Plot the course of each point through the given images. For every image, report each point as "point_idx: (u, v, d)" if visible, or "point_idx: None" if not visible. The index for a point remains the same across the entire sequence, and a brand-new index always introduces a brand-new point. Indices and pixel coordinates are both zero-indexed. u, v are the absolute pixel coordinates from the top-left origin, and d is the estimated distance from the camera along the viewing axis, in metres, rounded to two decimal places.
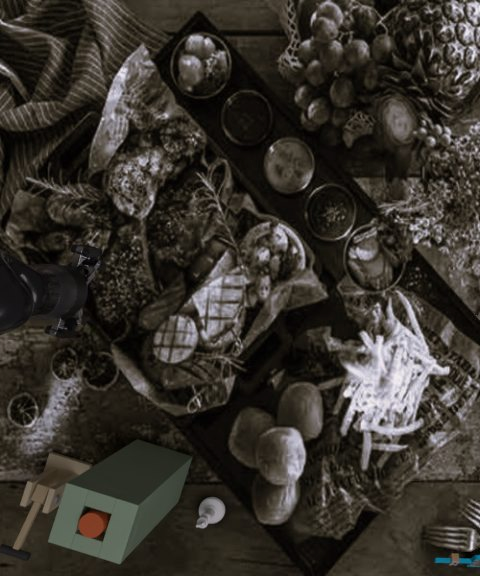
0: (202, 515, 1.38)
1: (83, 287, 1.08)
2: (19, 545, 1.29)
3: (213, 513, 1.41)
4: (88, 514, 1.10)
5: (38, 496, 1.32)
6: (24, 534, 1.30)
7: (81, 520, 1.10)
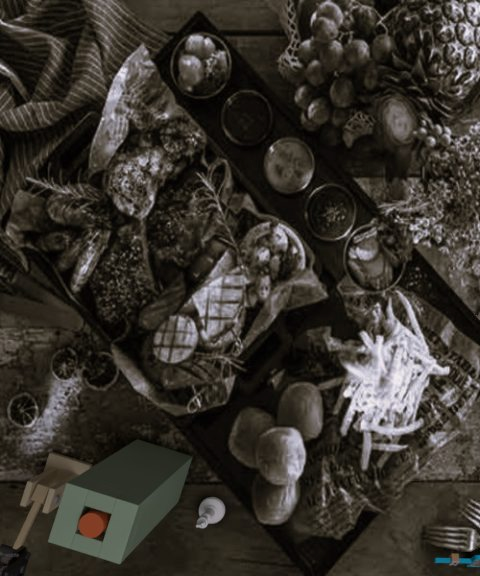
0: (202, 515, 1.38)
1: None
2: (19, 545, 1.29)
3: (213, 513, 1.41)
4: (88, 514, 1.10)
5: (38, 496, 1.32)
6: (24, 534, 1.30)
7: (81, 520, 1.10)
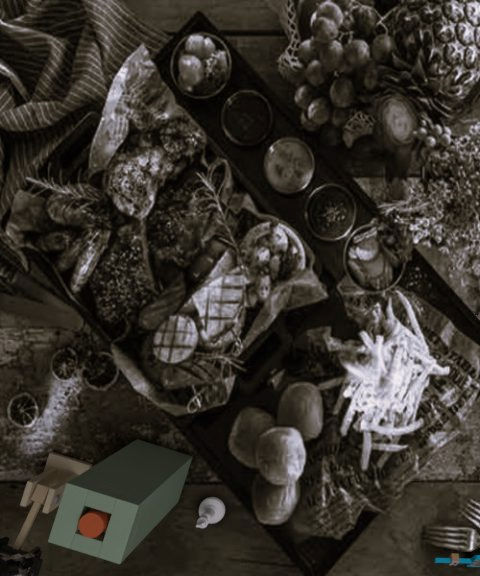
0: (202, 515, 1.38)
1: None
2: (19, 545, 1.29)
3: (213, 513, 1.41)
4: (88, 514, 1.10)
5: (38, 496, 1.32)
6: (24, 534, 1.30)
7: (81, 520, 1.10)
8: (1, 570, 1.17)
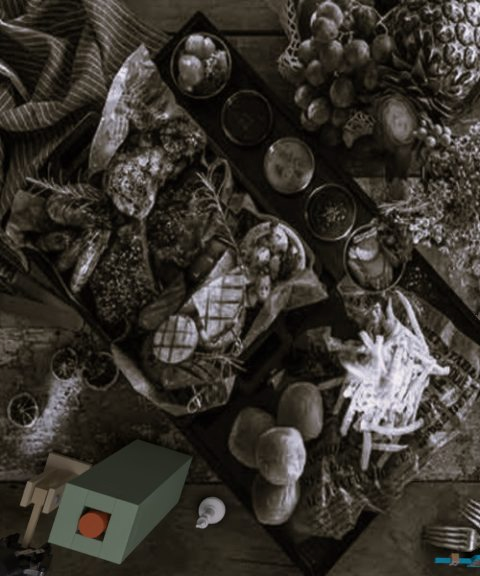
0: (202, 515, 1.38)
1: None
2: (27, 544, 1.33)
3: (213, 513, 1.41)
4: (88, 514, 1.10)
5: (37, 499, 1.32)
6: (30, 534, 1.33)
7: (81, 520, 1.10)
8: (12, 564, 1.22)
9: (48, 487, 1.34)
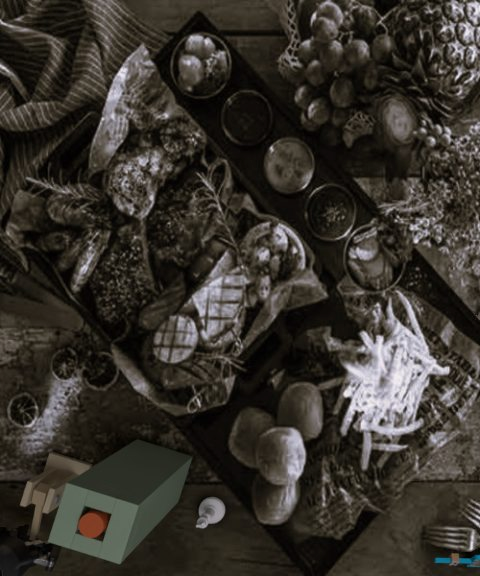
0: (202, 515, 1.38)
1: None
2: (34, 537, 1.36)
3: (213, 513, 1.41)
4: (88, 514, 1.10)
5: (37, 500, 1.33)
6: (36, 529, 1.35)
7: (81, 520, 1.10)
8: (23, 554, 1.25)
9: (47, 487, 1.34)
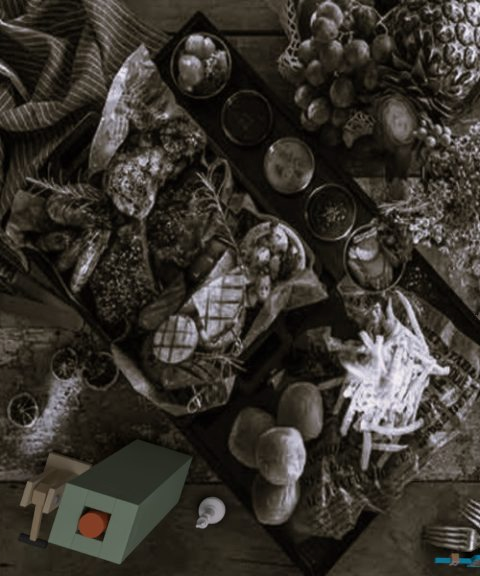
0: (202, 515, 1.38)
1: None
2: (34, 537, 1.36)
3: (213, 513, 1.41)
4: (88, 514, 1.10)
5: (37, 500, 1.33)
6: (36, 529, 1.35)
7: (81, 520, 1.10)
8: None
9: (47, 487, 1.34)
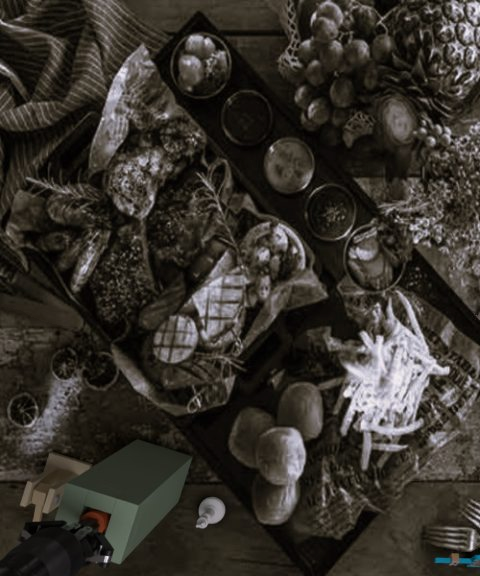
0: (202, 515, 1.38)
1: None
2: None
3: (213, 513, 1.41)
4: (89, 513, 1.10)
5: (37, 500, 1.33)
6: None
7: None
8: (75, 551, 0.95)
9: (47, 487, 1.34)
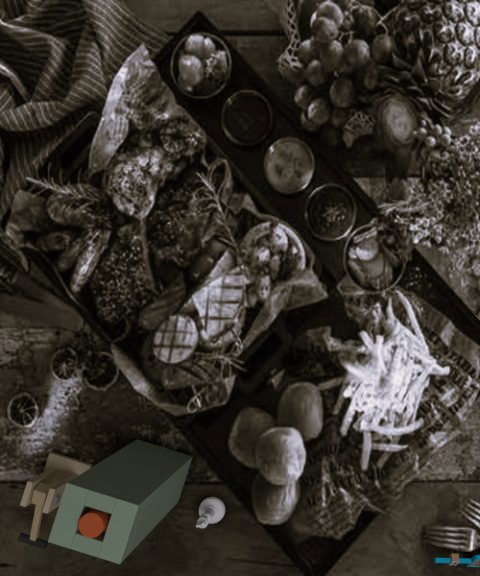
0: (202, 515, 1.38)
1: None
2: (34, 537, 1.36)
3: (213, 513, 1.41)
4: (88, 514, 1.10)
5: (37, 500, 1.33)
6: (36, 529, 1.35)
7: (81, 520, 1.10)
8: None
9: (47, 487, 1.34)
